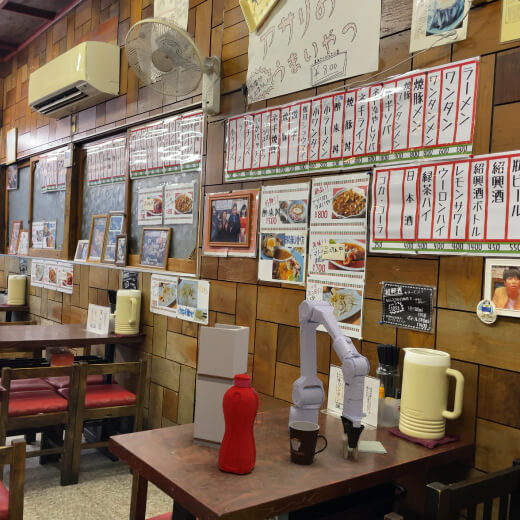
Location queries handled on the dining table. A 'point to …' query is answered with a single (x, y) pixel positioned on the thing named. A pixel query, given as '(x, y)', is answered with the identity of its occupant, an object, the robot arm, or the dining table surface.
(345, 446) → the wooden stool
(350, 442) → the robot arm
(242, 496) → the dining table surface
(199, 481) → the dining table surface
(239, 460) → the water bottle
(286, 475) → the dining table surface
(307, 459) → the coffee mug
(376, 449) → the rubber mat
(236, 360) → the grey tall box
